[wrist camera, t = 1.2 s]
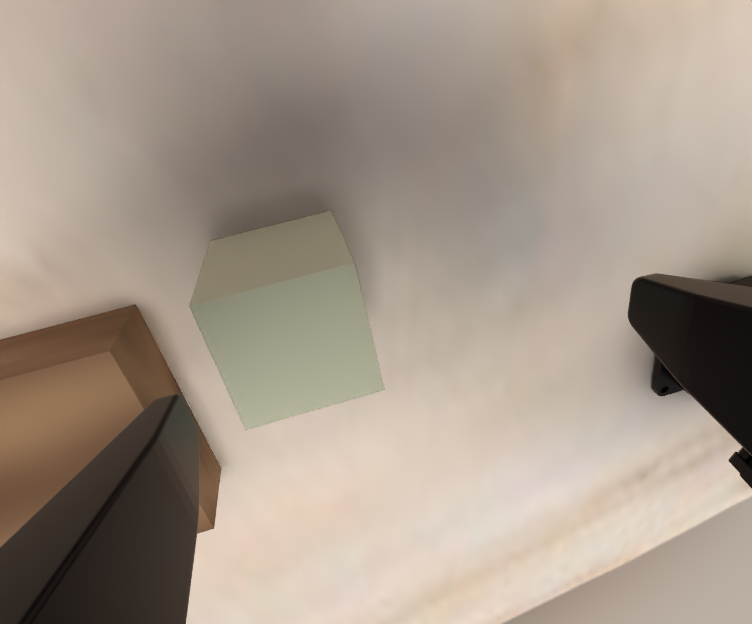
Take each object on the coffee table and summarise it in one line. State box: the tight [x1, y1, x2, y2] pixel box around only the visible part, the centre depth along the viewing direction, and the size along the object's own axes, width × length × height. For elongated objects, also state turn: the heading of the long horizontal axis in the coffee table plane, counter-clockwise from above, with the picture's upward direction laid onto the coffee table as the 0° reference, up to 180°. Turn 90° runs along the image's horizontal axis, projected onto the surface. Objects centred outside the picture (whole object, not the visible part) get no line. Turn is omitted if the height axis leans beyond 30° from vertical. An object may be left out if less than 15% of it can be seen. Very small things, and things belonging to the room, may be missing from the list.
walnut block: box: [0, 305, 221, 547], centre depth 20 cm, size 10×10×4 cm
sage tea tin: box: [189, 210, 384, 430], centre depth 17 cm, size 5×5×6 cm
